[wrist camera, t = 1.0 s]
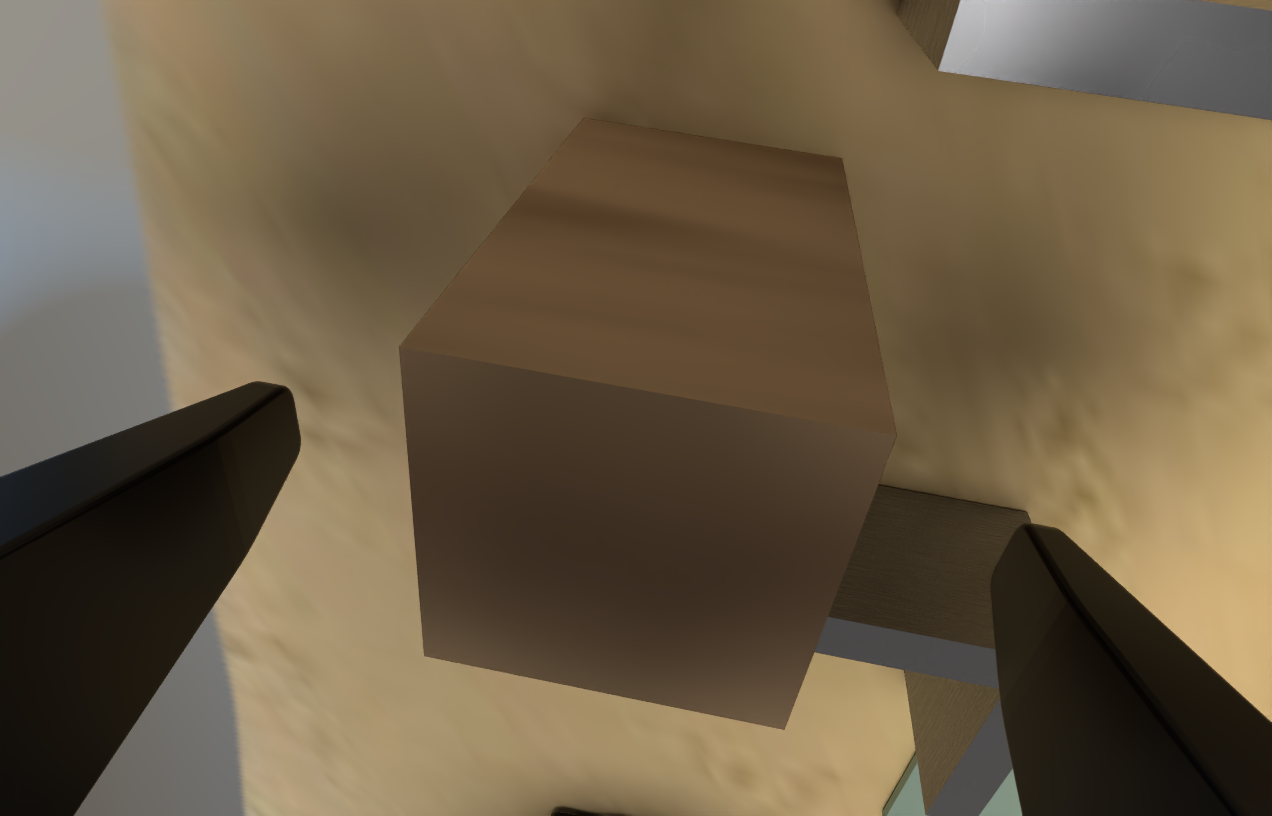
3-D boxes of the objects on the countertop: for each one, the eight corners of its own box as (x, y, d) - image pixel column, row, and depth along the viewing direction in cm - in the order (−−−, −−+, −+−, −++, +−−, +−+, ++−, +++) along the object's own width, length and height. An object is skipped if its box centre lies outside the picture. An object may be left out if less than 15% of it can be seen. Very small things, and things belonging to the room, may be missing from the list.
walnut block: (784, 377, 16) (783, 729, 9) (569, 339, 16) (424, 656, 10) (842, 157, 13) (897, 435, 7) (583, 118, 14) (399, 347, 7)
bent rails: (1348, 749, 19) (1462, 928, 16) (729, 627, 20) (718, 771, 17) (2096, 101, 10) (2697, 208, 7) (917, -61, 11) (970, -31, 8)
